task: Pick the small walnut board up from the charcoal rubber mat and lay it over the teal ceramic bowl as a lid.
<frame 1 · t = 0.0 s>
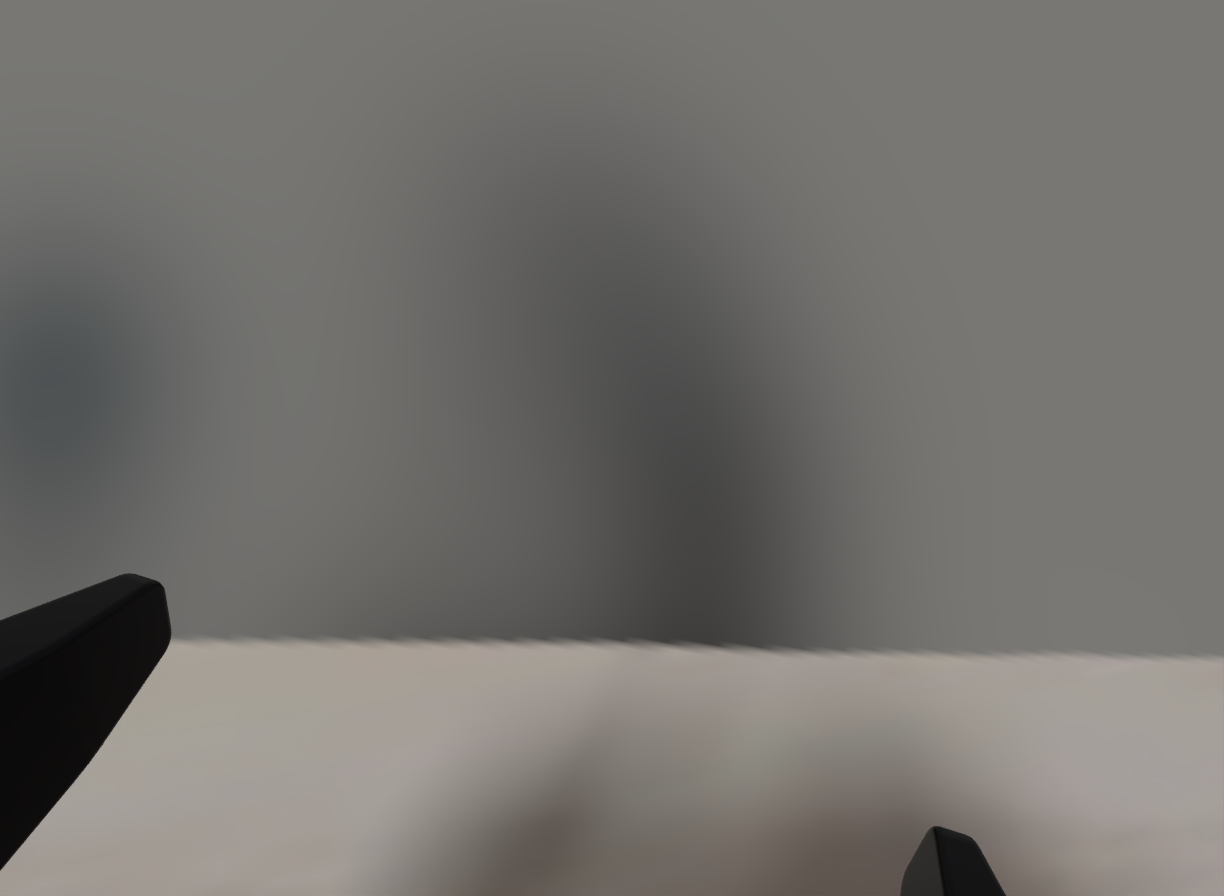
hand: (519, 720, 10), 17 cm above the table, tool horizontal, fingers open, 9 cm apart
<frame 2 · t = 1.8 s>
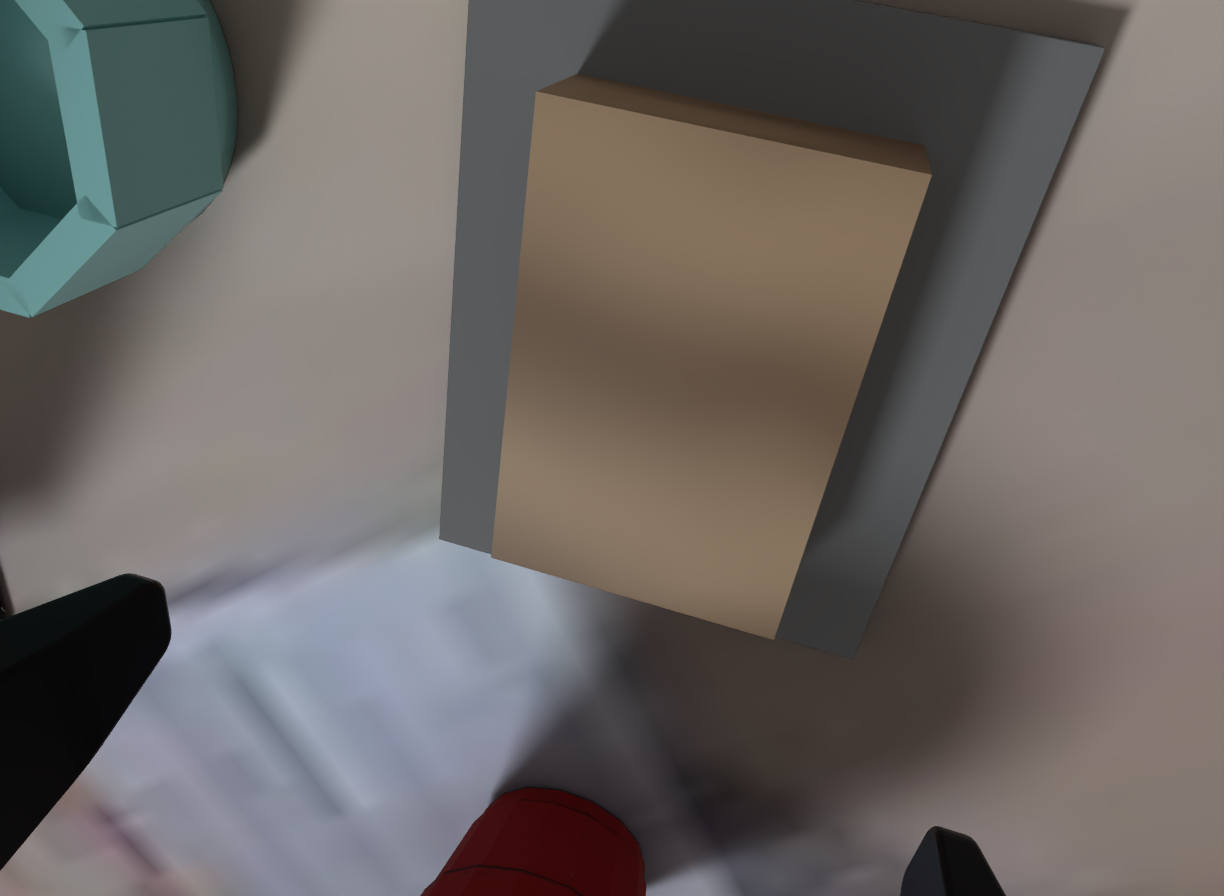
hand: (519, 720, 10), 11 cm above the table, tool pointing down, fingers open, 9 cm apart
mat: (697, 341, 19), on the table
plastic cup: (557, 838, 29), on the table
bowl: (77, 62, 20), on the table
board: (692, 352, 19), point 1 cm above the table, touching mat
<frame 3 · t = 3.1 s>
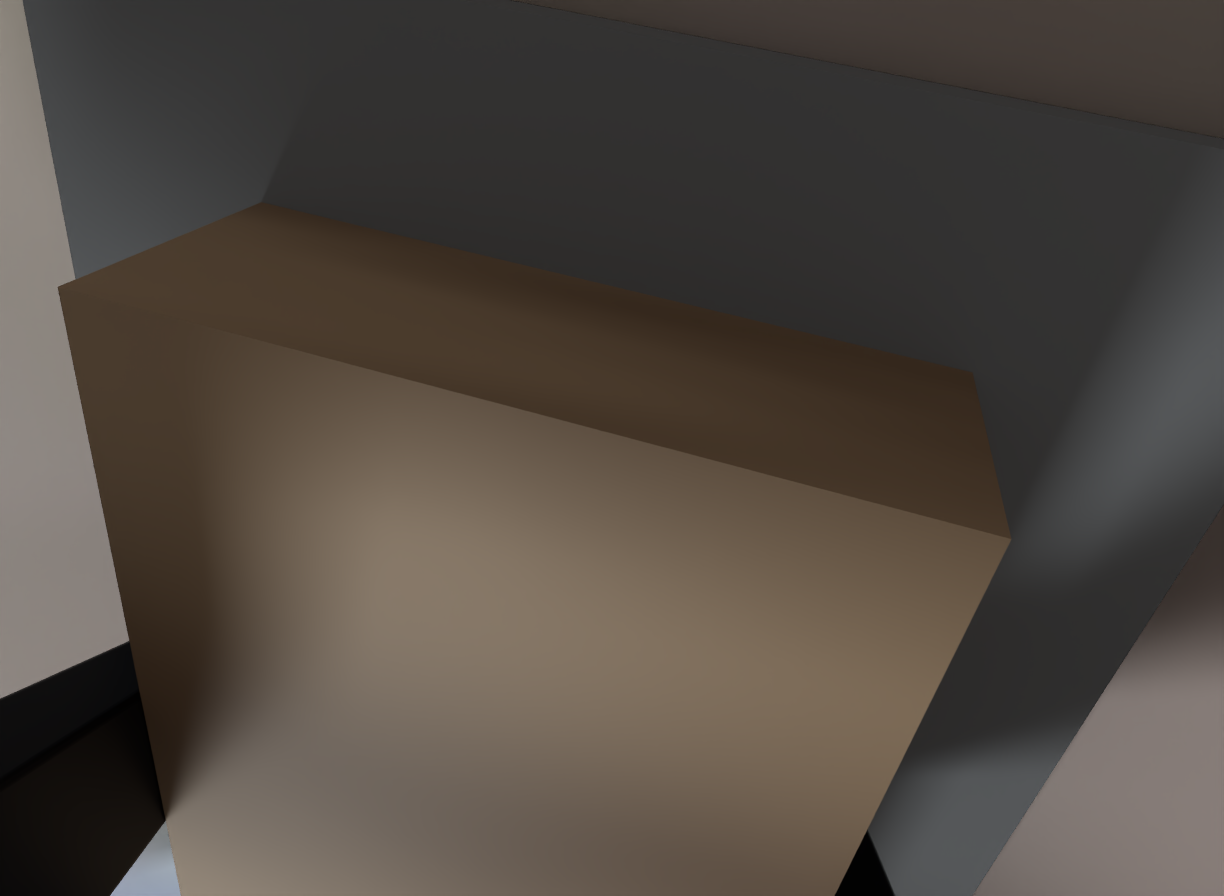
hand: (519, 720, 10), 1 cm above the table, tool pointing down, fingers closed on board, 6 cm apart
mat: (553, 646, 11), on the table
board: (537, 680, 10), point 1 cm above the table, touching gripper, mat
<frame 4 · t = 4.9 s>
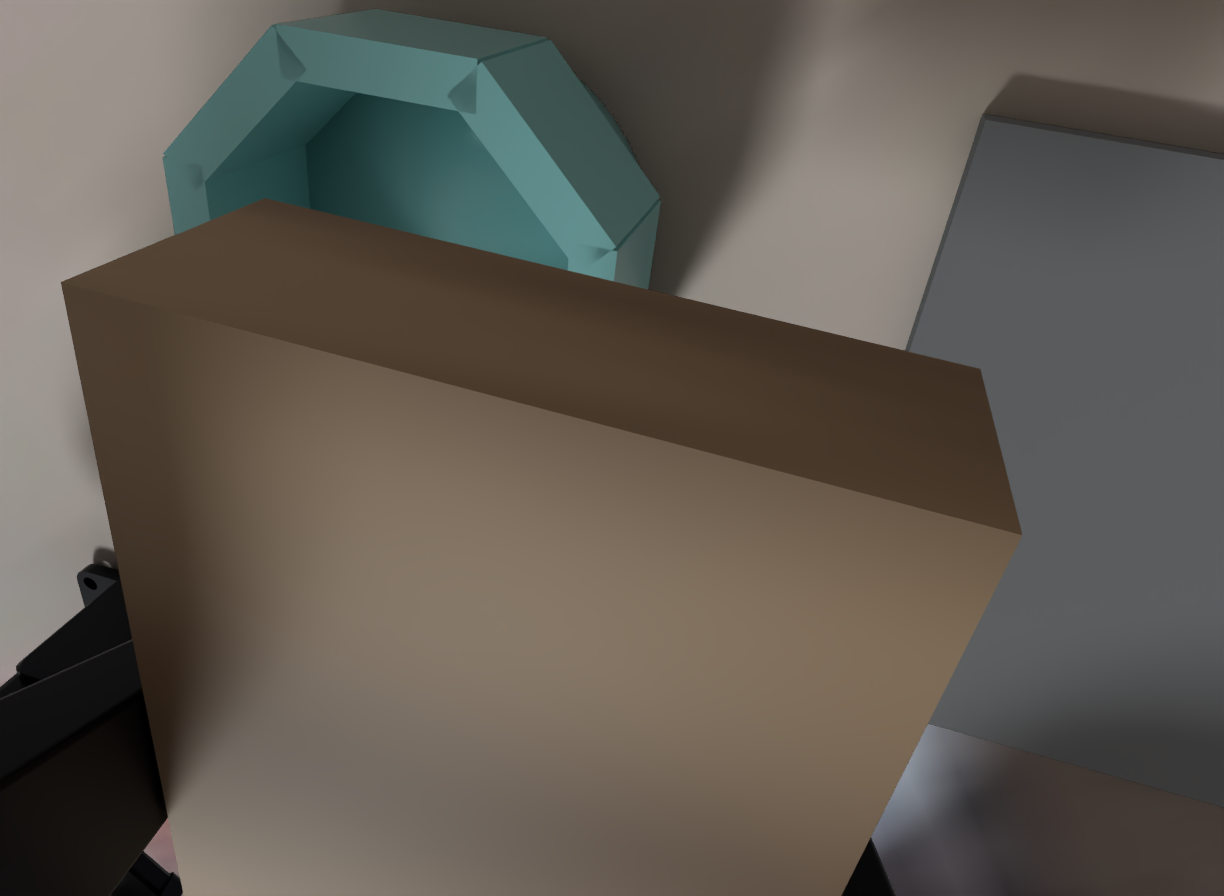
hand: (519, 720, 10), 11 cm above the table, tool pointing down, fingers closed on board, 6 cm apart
mat: (1139, 508, 18), on the table
bowl: (474, 229, 19), on the table
board: (541, 679, 10), point 10 cm above the table, touching gripper
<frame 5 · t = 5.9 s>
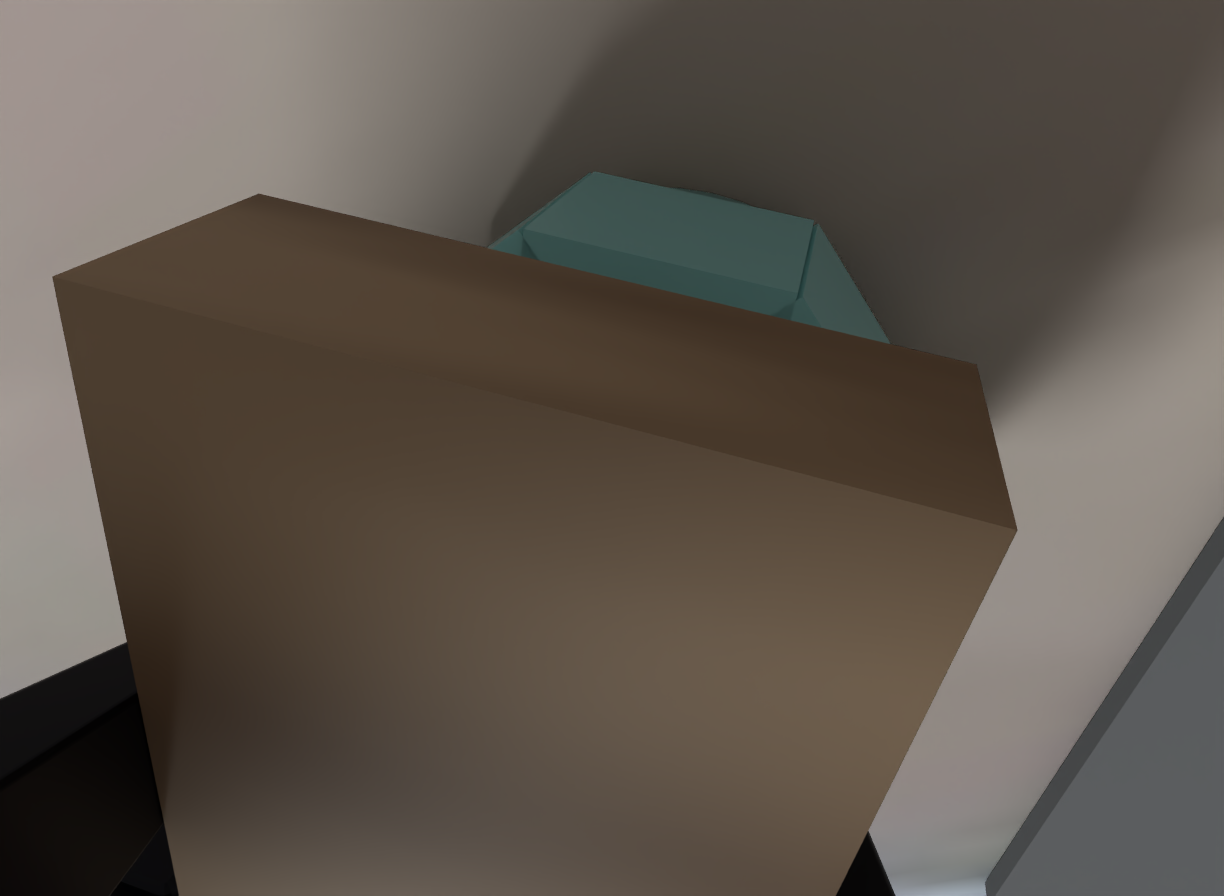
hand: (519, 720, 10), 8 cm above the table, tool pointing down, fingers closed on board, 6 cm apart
bowl: (665, 406, 16), on the table
board: (537, 676, 10), point 7 cm above the table, touching gripper
when the fingers open (6 cm above the table, at t = 6.7 s): board drops 1 cm, resting on bowl.
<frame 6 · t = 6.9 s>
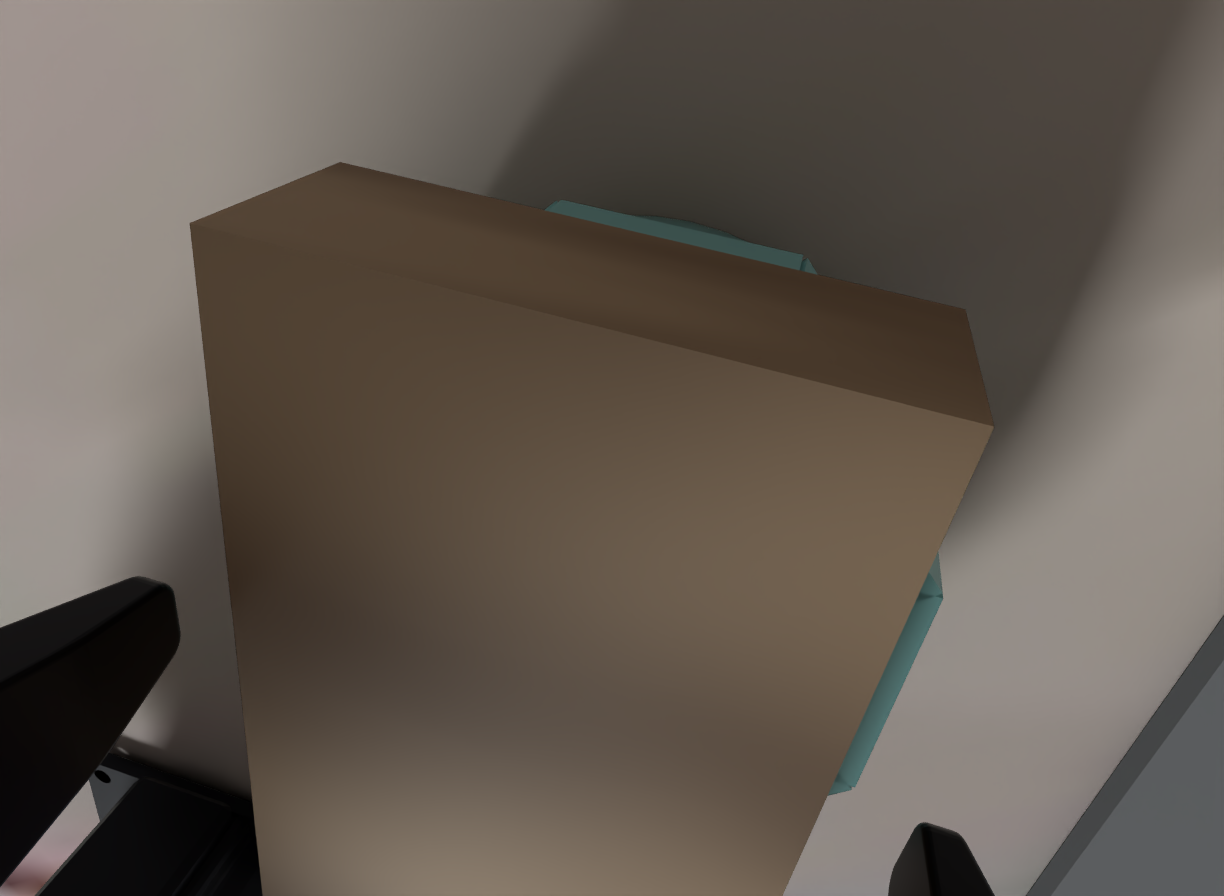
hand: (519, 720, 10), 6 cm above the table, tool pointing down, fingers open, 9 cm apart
bowl: (644, 449, 15), on the table
board: (572, 602, 11), point 4 cm above the table, touching bowl
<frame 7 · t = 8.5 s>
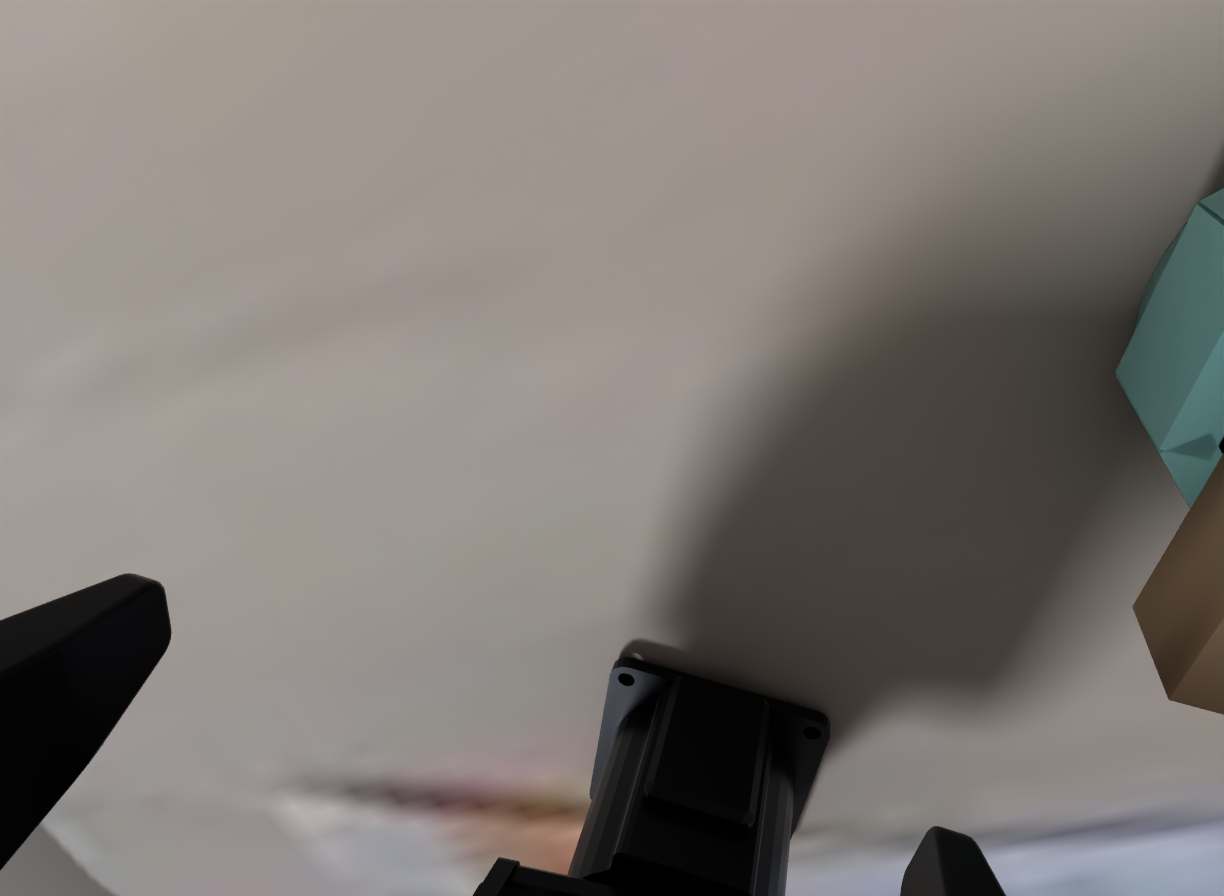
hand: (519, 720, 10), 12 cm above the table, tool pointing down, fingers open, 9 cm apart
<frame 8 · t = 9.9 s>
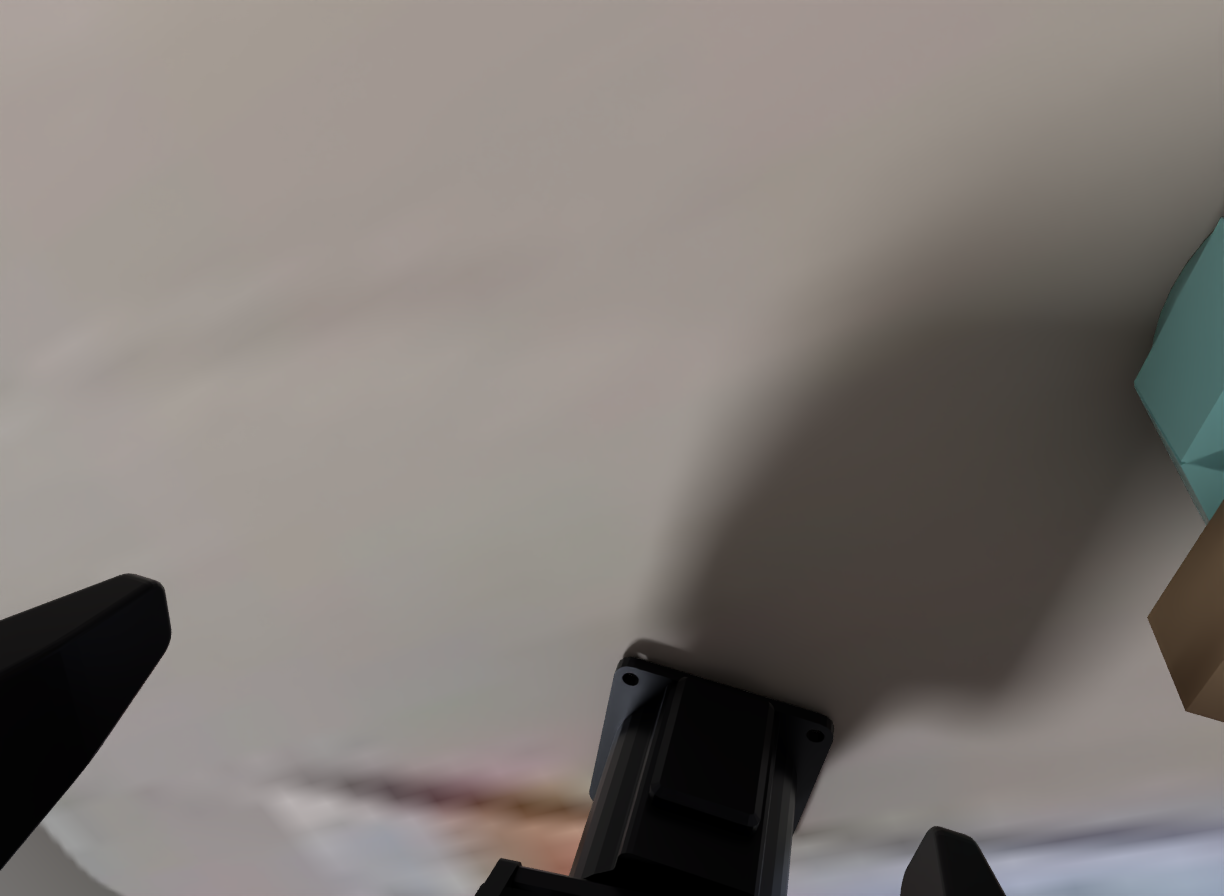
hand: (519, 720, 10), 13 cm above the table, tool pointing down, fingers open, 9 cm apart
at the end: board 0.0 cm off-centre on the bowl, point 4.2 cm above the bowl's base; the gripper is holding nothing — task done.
